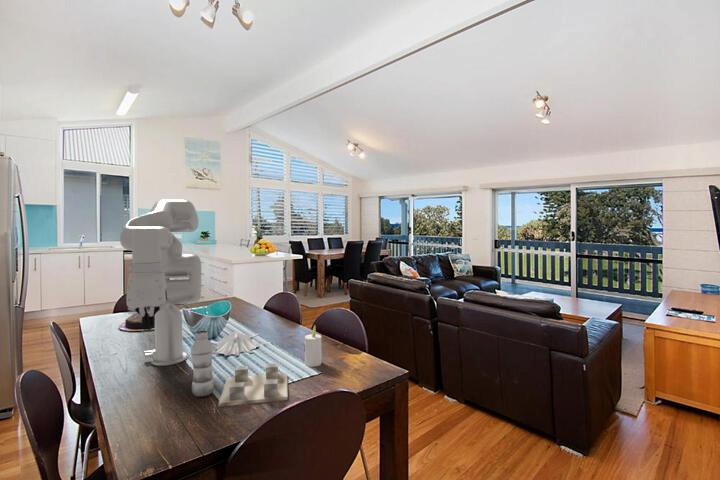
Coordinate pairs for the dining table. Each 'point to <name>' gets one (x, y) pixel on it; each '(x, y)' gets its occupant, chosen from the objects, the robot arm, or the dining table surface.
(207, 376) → the plastic bottle
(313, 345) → the candle
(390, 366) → the dining table surface
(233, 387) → the cradle
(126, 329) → the chocolate cake
